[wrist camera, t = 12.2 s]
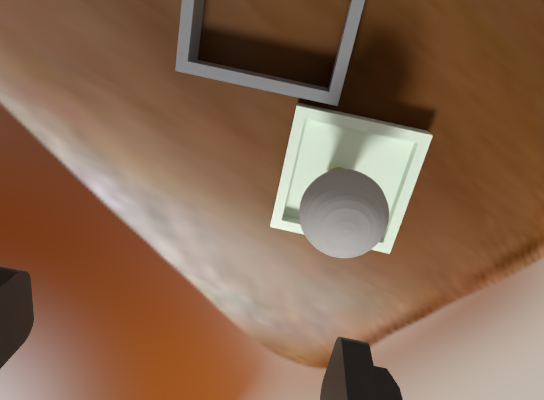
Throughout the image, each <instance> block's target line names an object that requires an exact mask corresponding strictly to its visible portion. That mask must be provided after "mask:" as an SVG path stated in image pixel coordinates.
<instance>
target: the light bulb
mask: <svg viewBox="0 0 544 400" xmlns="http://www.w3.org/2000/svg"><path fill="white" fill-rule="evenodd" d="M299 219H300V225H301V228H302V231H303V233H304V234H305V236H306V238H307V239H308V240H309V241H310V243H311V244H312V245H313V246H314V247H315V248H317V249H318V250H319V251H321V252H323V253H325V254H327V255H330V256H333V257H337V258H352V257H356V256H360V255H362V254H364V253H366V252H368V251H369V250H371V249H372V248H373V247H375V246H376V245H377V244H378V242H379V241H380V240H381V238H382V237H383V235H384V233H385V231H386V228H387V225H388V222H389V207H388V203H387V200H386V197H385V195H384V193H383V191H382V189H381V188H380V186H379V185H378V184H377V183H376V182H375V181H374V180H373V179H371V178H370V177H368V176H367V175H365V174H363V173H361V172H358V171H355V170H350V169H344V168H342V167H335V168H332V169H331V170H329V171H328V172H326V173H324V174H322V175H321V176H319V177H318V178H316V179H315V180H314V181H313V182H312V183H311V184H310V185H309V186H308V188H307V189H306V191H305V192H304V194H303V196H302V199H301V202H300V210H299Z"/></svg>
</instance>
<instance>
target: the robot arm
mask: <svg viewBox="0 0 544 400" xmlns="http://www.w3.org/2000/svg"><path fill="white" fill-rule="evenodd" d="M33 321H34V314H33V302H32V289H31V279H30V275H29V273H28V272H26V271H23V270H18V269H13V268H8V267H3V266H0V368H1V367H2V366H3V365H4V364H5V363H6V362H7V361H8V359H10V357H11V356H12V355H13V354H14V353H15V352H16V351H17V350H18V349H19V348H20V346H21V345H22V344H23V343H24V342H25V340H26V339H27V337H28V336H29V333H30V332H31V329H32V326H33ZM320 400H402V396H401V392H400V388H399V386H398V385H397V383H396V382H395V380H394V379H393V377H392V376H391V374H390V373H389V371H388V370H387V369H386V368H381V367H376V366H373V361H372V356H371V351H370V346H369V344H368V343H367V342H363V341H358V340H353V339H348V338H343V337H338V338H337V340H336V342H335V345H334V348H333V351H332V354H331V357H330V360H329V363H328V366H327V369H326V373H325V376H324V379H323V383H322V389H321V396H320Z"/></svg>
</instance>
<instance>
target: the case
mask: <svg viewBox="0 0 544 400" xmlns="http://www.w3.org/2000/svg"><path fill="white" fill-rule="evenodd" d="M204 1H205V0H182V6H181V16H180V27H179V37H178V48H177V58H176V69H175V71H179V72H183V73H188V74H192V75H197V76H202V77H206V78H211V79H215V80H220V81H225V82H229V83H234V84H238V85H243V86H248V87H252V88H257V89H261V90H266V91H270V92H275V93H280V94H284V95H289V96H293V97H298V98H303V99H307V100H312V101H316V102H321V103H326V104H330V105H335V106H338V103H339V99H340V95H341V91H342V87H343V83H344V80H345V76H346V72H347V68H348V64H349V60H350V56H351V52H352V49H353V45H354V41H355V37H356V33H357V29H358V25H359V22H360V18H361V14H362V10H363V6H364V2H365V0H350V1H349V5H348V10H347V14H346V18H345V22H344V26H343V30H342V34H341V38H340V42H339V46H338V50H337V54H336V58H335V63H334V67H333V71H332V75H331V79H330V83H329V87H328V88H326V87H321V86H317V85H312V84H307V83H303V82H298V81H294V80H289V79H284V78H280V77H275V76H271V75H266V74H261V73H257V72H252V71H248V70H243V69H238V68H234V67H229V66H224V65H220V64H215V63H211V62H206V61H201V60H198V53H199V44H200V36H201V27H202V19H203V10H204Z"/></svg>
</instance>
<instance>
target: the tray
mask: <svg viewBox="0 0 544 400" xmlns="http://www.w3.org/2000/svg"><path fill="white" fill-rule="evenodd" d="M432 136H433V135H432V134H431V133H429V132H428V131H427V130H422V129H417V128H413V127H408V126H404V125H399V124H394V123H390V122H385V121H381V120H376V119H372V118H367V117H362V116H358V115H353V114H349V113H344V112H339V111H335V110H330V109H326V108H321V107H316V106H312V105H307V104H303V103H297V106H296V111H295V115H294V120H293V124H292V129H291V133H290V138H289V143H288V147H287V152H286V156H285V161H284V165H283V170H282V175H281V179H280V184H279V188H278V193H277V198H276V202H275V207H274V211H273V216H272V220H271V225H270V227H273V228H278V229H282V230H287V231H291V232H295V233H300V234H304V233H303V231H302V228H301V225H300V219H299V210H300V202H301V199H302V196H303V194H304V192H305V191H306V189H307V188H308V186H309V185H310V184H311V183H312V182H313V181H314V180H315V179H316V178H318V177H319V176H321V175H322V174H324V173H326V172H328V171H329V170H331V169H332V168H335V167H342V168H344V169H350V170H355V171H358V172H361V173H363V174H365V175H367V176H368V177H370V178H371V179H373V180H374V181H375V182H376V183H377V184H378V185H379V186H380V188H381V189H382V191H383V193H384V195H385V197H386V200H387V203H388V207H389V222H388V225H387V228H386V231H385V233H384V235H383V237H382V238H381V240H380V241H379V242H378V244H377V245H376V246H375V247H373V248H372V249H371V250H375V251H380V252H384V253H388V254H390V252H391V249H392V247H393V244H394V241H395V238H396V236H397V233H398V230H399V227H400V225H401V222H402V219H403V216H404V214H405V211H406V208H407V205H408V202H409V200H410V197H411V194H412V191H413V189H414V186H415V183H416V180H417V178H418V175H419V172H420V169H421V167H422V164H423V161H424V158H425V156H426V153H427V150H428V147H429V145H430V142H431V139H432ZM304 235H305V234H304Z"/></svg>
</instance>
